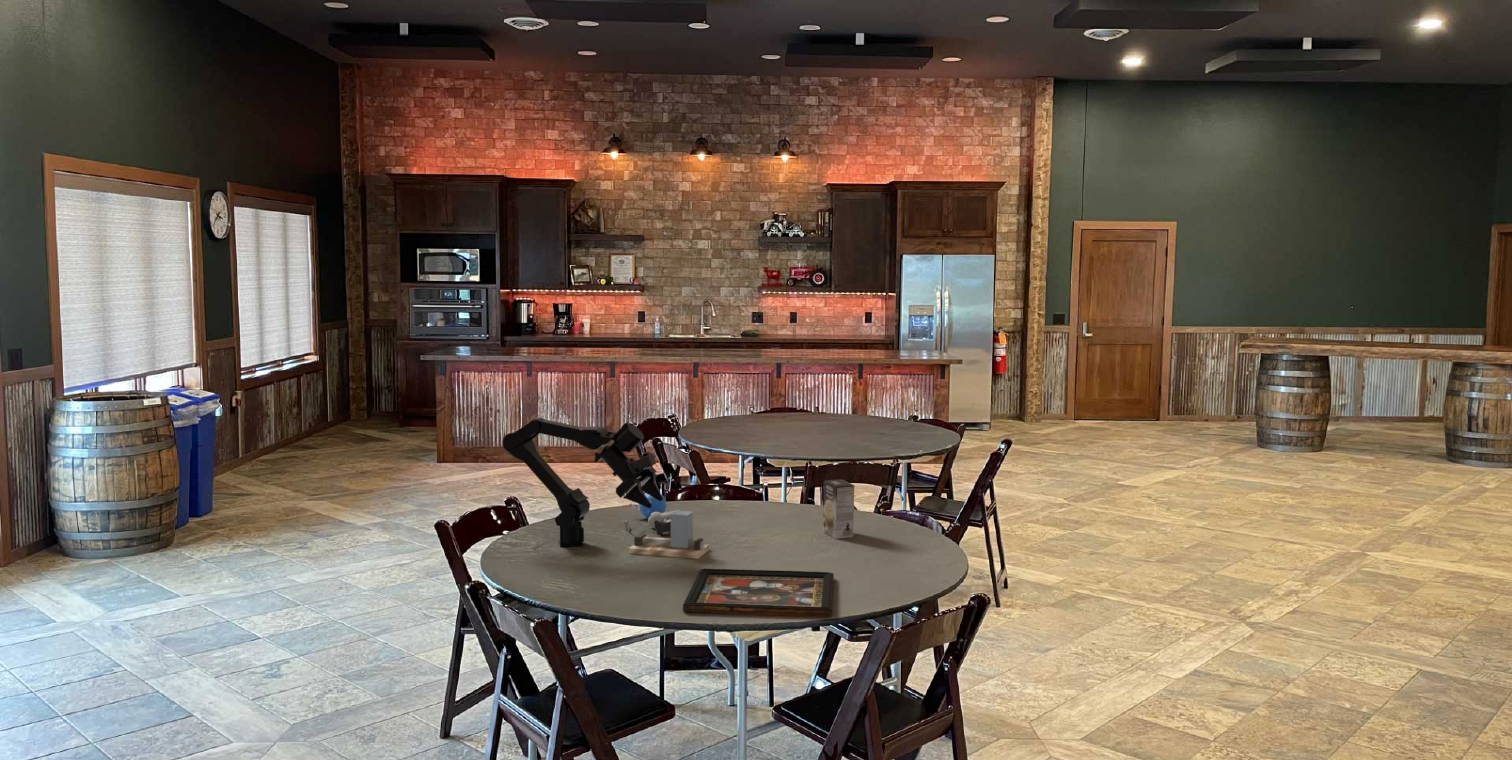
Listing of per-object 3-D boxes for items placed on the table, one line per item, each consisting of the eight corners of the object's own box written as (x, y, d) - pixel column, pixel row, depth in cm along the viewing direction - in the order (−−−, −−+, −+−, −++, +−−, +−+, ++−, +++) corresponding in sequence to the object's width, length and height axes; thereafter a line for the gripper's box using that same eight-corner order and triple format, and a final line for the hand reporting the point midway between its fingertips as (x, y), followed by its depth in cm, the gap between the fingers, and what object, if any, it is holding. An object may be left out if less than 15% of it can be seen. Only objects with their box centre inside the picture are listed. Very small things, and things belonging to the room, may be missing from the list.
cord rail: (628, 553, 297) (628, 539, 296) (641, 544, 307) (641, 530, 307) (698, 559, 292) (698, 544, 291) (709, 549, 302) (709, 535, 301)
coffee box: (822, 532, 322) (822, 480, 321) (840, 530, 325) (841, 478, 323) (835, 539, 314) (835, 486, 312) (854, 537, 316) (855, 484, 314)
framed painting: (831, 575, 278) (831, 565, 278) (847, 620, 243) (847, 608, 243) (686, 576, 277) (686, 565, 277) (682, 621, 242) (681, 609, 242)
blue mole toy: (632, 513, 345) (632, 488, 344) (668, 514, 345) (668, 488, 344) (626, 522, 333) (626, 496, 332) (663, 523, 333) (663, 496, 332)
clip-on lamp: (624, 545, 318) (682, 532, 317) (618, 525, 317) (677, 512, 316) (629, 531, 330) (685, 519, 329) (624, 512, 328) (680, 500, 327)
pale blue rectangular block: (670, 546, 297) (670, 514, 296) (676, 542, 301) (676, 510, 300) (687, 548, 295) (687, 515, 294) (692, 543, 300) (692, 511, 299)
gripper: (626, 449, 289) (664, 491, 288) (649, 439, 307) (686, 478, 306) (599, 476, 292) (637, 518, 291) (624, 464, 310) (660, 503, 309)
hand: (656, 503), depth 299 cm, fingers open, 9 cm apart
